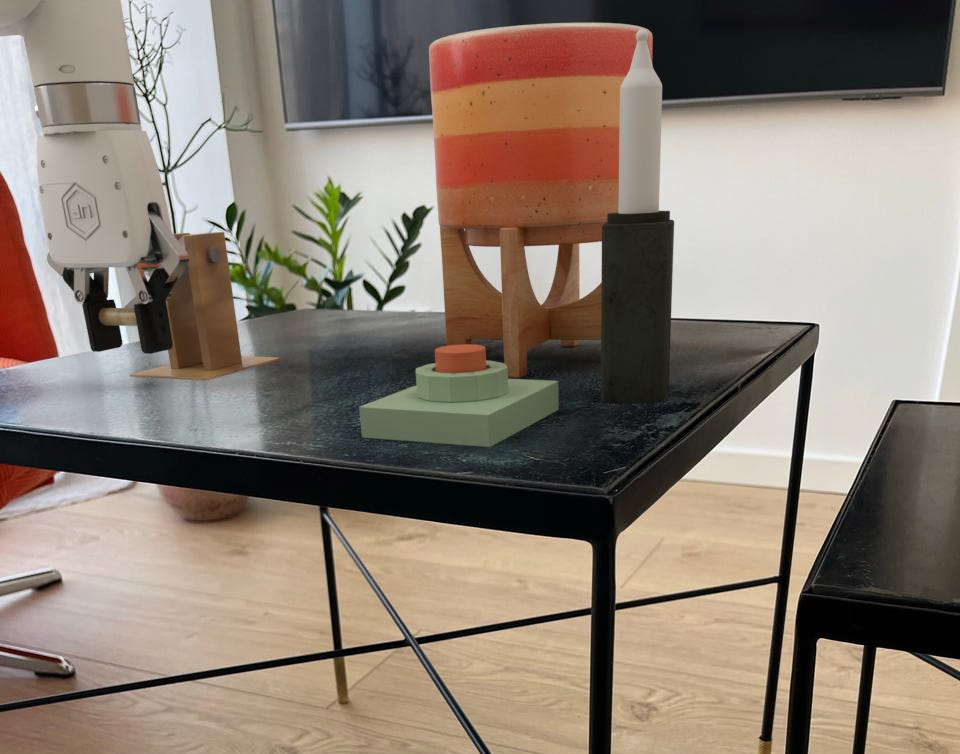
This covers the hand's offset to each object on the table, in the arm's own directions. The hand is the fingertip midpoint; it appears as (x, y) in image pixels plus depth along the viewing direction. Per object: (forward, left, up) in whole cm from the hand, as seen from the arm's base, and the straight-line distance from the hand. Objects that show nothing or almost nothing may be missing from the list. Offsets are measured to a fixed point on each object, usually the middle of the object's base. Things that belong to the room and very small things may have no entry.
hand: (132, 348), depth 87 cm
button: (-2, -33, -1) cm, 33 cm away
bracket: (+9, 0, -4) cm, 10 cm away
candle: (+10, -42, -4) cm, 43 cm away
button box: (-2, -33, -4) cm, 33 cm away
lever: (+5, 0, +4) cm, 6 cm away
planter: (+25, -28, -4) cm, 38 cm away
